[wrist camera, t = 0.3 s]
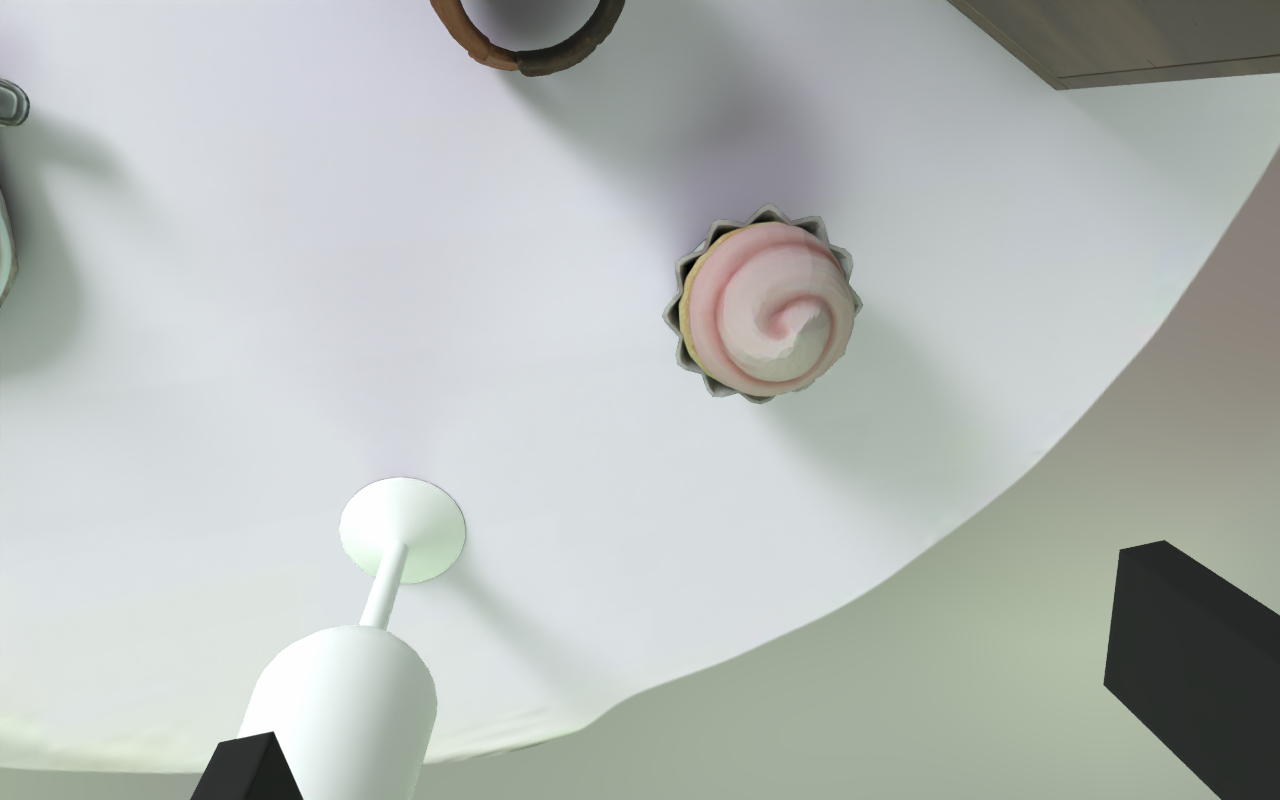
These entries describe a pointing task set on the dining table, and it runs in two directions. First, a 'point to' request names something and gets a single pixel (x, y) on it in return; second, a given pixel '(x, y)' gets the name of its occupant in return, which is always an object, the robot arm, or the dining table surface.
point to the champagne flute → (364, 658)
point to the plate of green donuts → (5, 109)
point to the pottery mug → (535, 60)
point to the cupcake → (763, 305)
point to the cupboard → (1133, 38)
